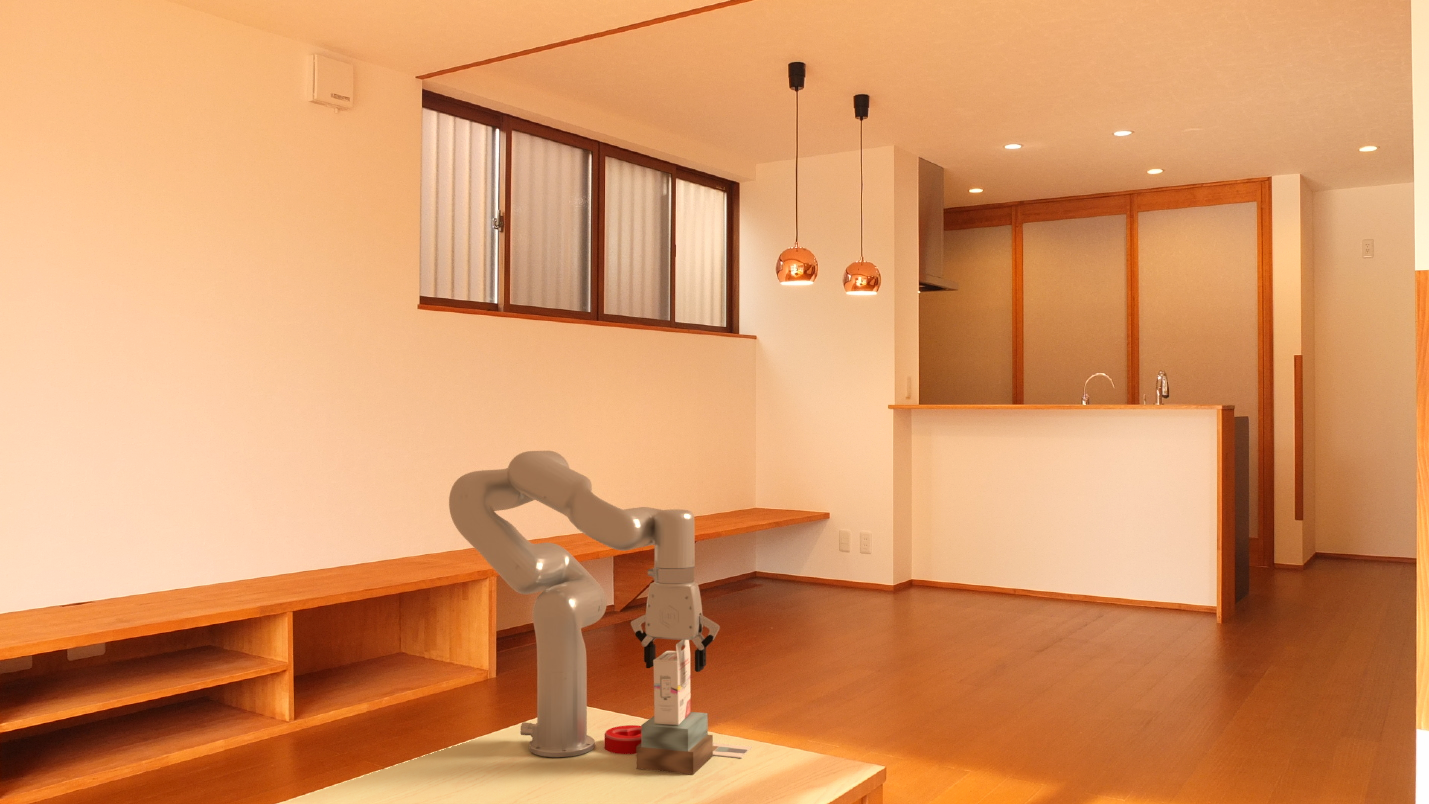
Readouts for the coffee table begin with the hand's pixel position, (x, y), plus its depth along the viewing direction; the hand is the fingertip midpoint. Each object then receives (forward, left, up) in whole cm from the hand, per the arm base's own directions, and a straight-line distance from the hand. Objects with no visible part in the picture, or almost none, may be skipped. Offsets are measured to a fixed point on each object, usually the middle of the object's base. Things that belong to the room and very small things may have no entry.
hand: (674, 668), depth 193 cm
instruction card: (+6, +9, -17) cm, 21 cm away
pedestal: (0, 0, -17) cm, 17 cm away
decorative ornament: (-12, +6, -18) cm, 22 cm away
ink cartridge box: (0, 0, -10) cm, 10 cm away
